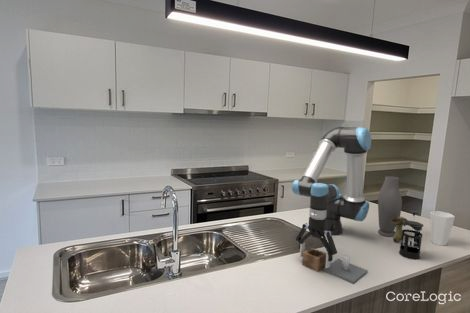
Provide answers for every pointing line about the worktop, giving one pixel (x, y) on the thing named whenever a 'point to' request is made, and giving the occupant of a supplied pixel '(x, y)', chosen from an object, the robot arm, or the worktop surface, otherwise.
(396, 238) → the mushroom
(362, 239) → the worktop surface
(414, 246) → the french press
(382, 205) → the vase
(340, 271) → the grey plate with knob
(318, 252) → the collar
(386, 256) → the worktop surface
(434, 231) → the cup
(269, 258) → the worktop surface
